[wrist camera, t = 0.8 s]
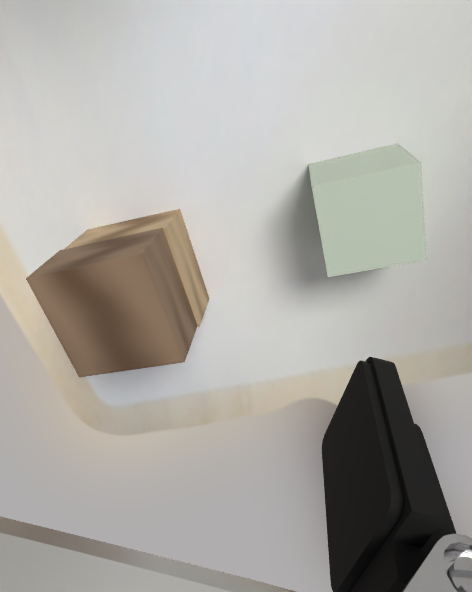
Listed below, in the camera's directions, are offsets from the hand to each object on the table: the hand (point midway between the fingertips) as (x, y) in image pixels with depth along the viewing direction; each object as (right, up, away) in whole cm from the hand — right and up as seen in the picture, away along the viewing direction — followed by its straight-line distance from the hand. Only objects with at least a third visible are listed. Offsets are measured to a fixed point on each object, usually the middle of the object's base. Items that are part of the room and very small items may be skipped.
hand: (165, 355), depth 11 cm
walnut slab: (-6, +2, +21) cm, 22 cm away
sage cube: (+10, +9, +20) cm, 24 cm away
